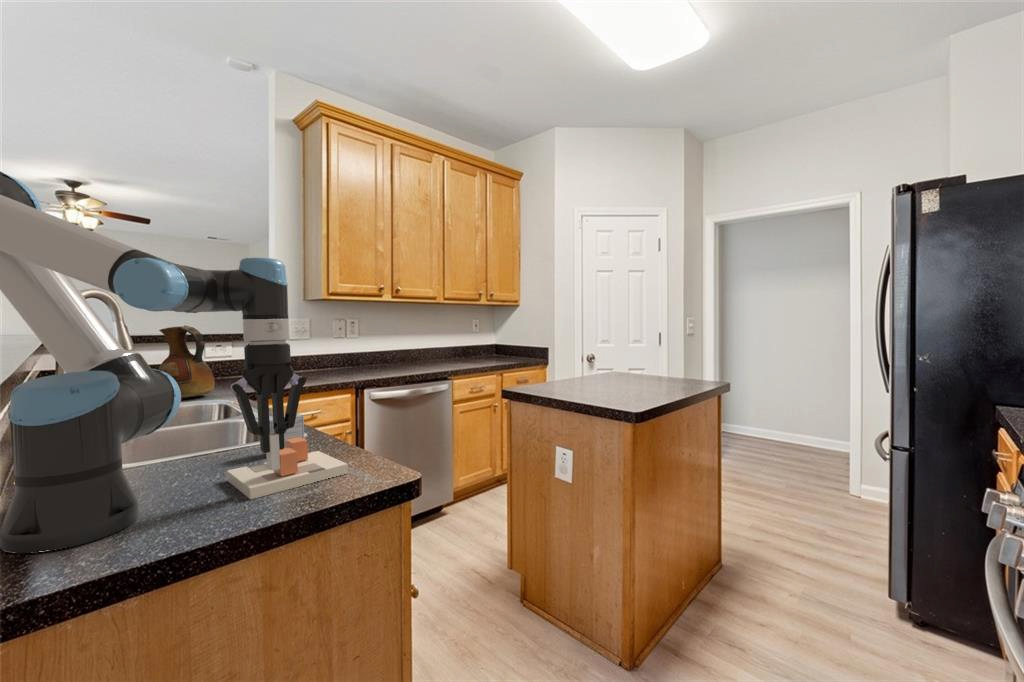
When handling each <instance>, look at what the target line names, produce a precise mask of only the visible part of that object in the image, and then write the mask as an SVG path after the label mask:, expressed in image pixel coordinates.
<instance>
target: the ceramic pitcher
mask: <svg viewBox="0 0 1024 682" xmlns="http://www.w3.org/2000/svg"><path fill="white" fill-rule="evenodd" d="M158 331H159V332H161V333H162V335H164V336H165V338H166V341H167V345H168V347H169V353H168V356H167V357H166V358H165V359H164V360H163V361H162V362H161V364H160V365H159V366H158V369H157V370H159V371H163V372H165V373H167V374H169V375H170V376H171V377H172V378H173V379H174V380H175V381H176V382H177V384H178V386H179V388H180V392H181V399H184V398H185V399H186V398H191V397H198V396H202V395H208V394H210V393H211V392H212V391H213V390H214V389H215V385H216V382H215V377H214V373H213V371H212V369H211V368H210V367H209V365H208V363H206V361H205V360H204V359H203V355H204V351H205V340H204V338H203V335H202V333H201V332H200V331H199V330H198V329H196V328H195V327H193V326H190V325H183V326H171V327H166V328H162V329H159V330H158ZM187 333H188V334H190V335H191V336H192V337H193V340H194V342H195V352H194V353H191V351H190V350H189V348H188V344H187V339H186V338H187Z"/></svg>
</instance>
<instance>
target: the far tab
mask: <svg viewBox="0 0 1024 682" xmlns="http://www.w3.org/2000/svg"><path fill="white" fill-rule="evenodd" d="M286 448H291V449H293V450H295V451H297V461H302V460H306V459H308V453H309V450H308V449H309V445H308V439H305V438H304V439H303V438H301V437H297V438H292V439H286V440H285V449H286Z"/></svg>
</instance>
